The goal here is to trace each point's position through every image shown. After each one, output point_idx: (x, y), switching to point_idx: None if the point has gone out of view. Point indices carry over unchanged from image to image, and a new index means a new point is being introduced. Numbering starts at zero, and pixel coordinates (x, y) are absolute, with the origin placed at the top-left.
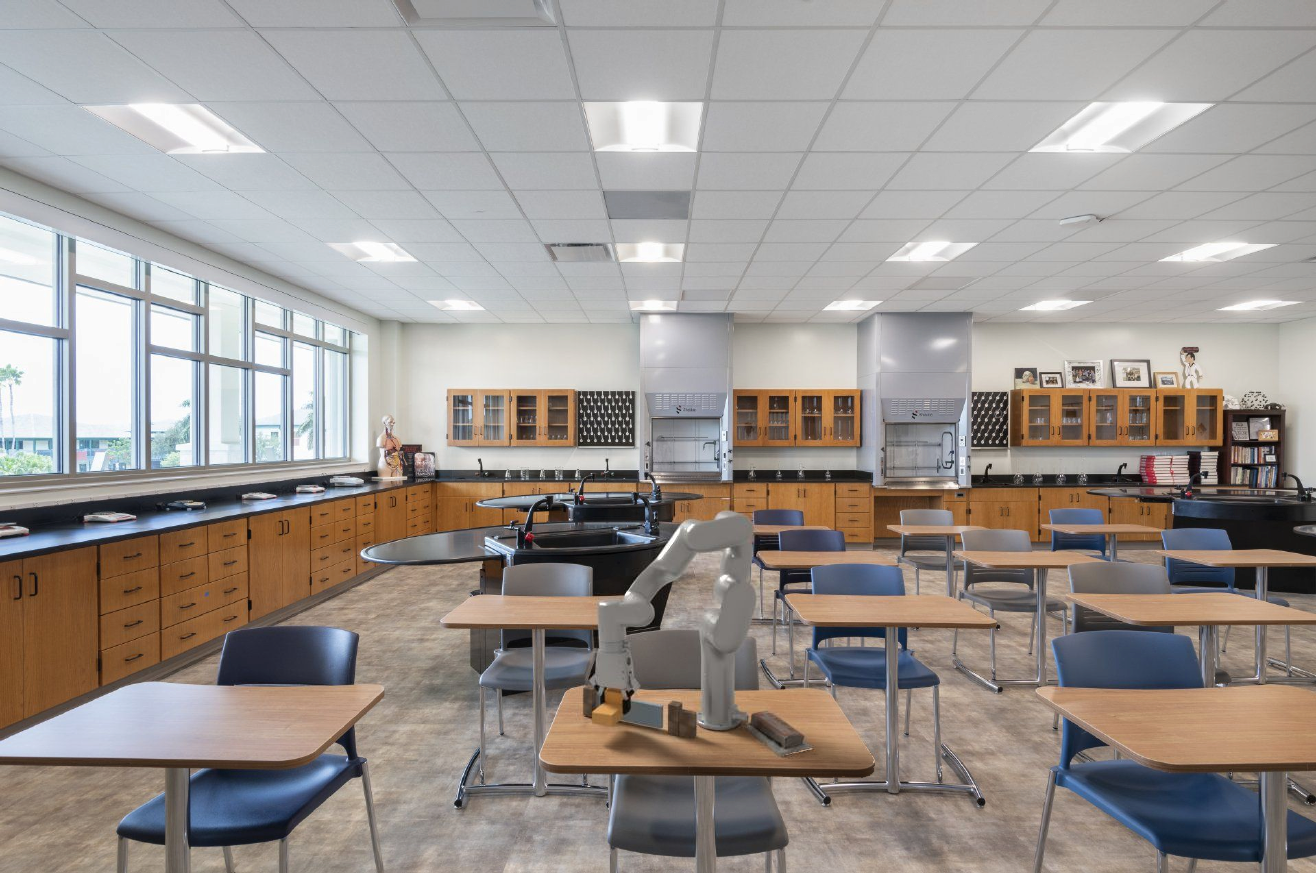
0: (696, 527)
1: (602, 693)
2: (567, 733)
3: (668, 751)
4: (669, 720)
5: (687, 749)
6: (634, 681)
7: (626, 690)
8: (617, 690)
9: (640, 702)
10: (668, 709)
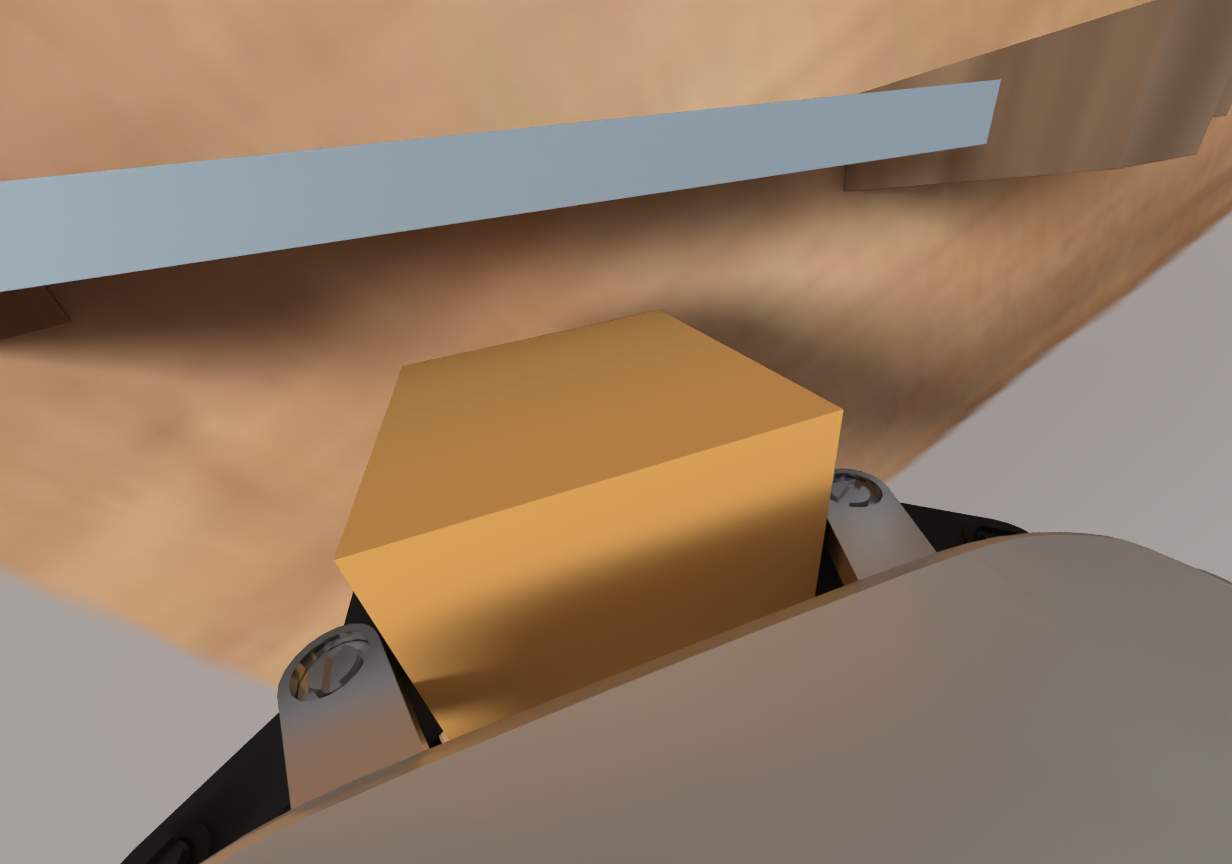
0: None
1: (441, 738)
2: (276, 631)
3: (890, 379)
4: (947, 180)
5: (963, 301)
6: None
7: (849, 572)
8: (663, 613)
9: (746, 173)
10: (1050, 172)
